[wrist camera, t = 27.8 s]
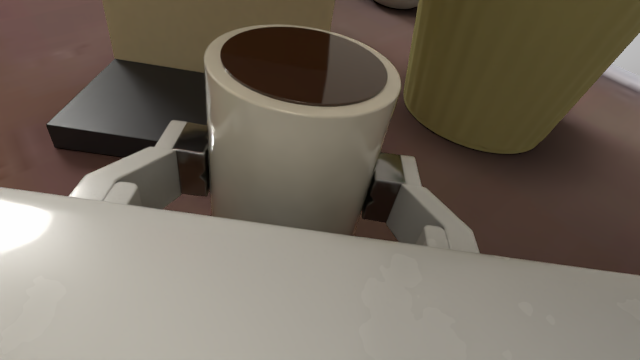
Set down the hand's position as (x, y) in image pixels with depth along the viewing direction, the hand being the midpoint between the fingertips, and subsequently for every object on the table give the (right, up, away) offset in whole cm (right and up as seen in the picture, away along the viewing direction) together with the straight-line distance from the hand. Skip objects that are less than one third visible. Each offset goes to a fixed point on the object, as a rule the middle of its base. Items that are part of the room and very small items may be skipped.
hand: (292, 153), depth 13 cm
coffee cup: (-1, -4, +2) cm, 5 cm away
